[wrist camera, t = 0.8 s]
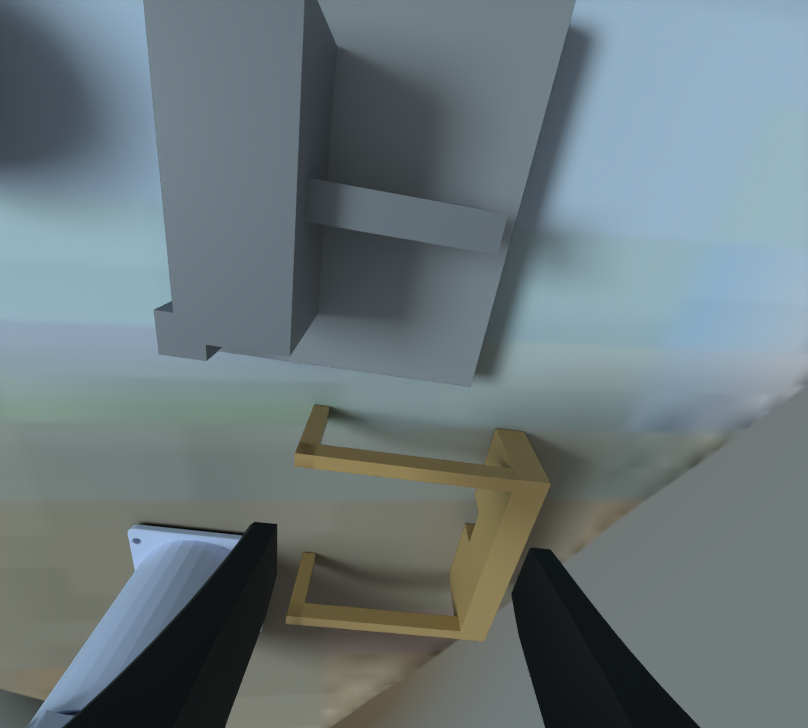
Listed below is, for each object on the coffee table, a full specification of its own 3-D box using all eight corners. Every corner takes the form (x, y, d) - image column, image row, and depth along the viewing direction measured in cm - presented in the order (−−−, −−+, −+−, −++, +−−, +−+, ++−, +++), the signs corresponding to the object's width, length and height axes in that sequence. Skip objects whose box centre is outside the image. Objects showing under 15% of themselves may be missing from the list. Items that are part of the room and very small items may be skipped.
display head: (557, 19, 13) (669, -103, 8) (465, 372, 19) (492, 446, 13) (174, -68, 12) (-9, -278, 7) (200, 334, 18) (113, 397, 12)
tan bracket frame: (524, 431, 20) (551, 483, 17) (471, 577, 25) (484, 641, 22) (314, 403, 20) (295, 452, 16) (302, 560, 25) (285, 624, 21)
